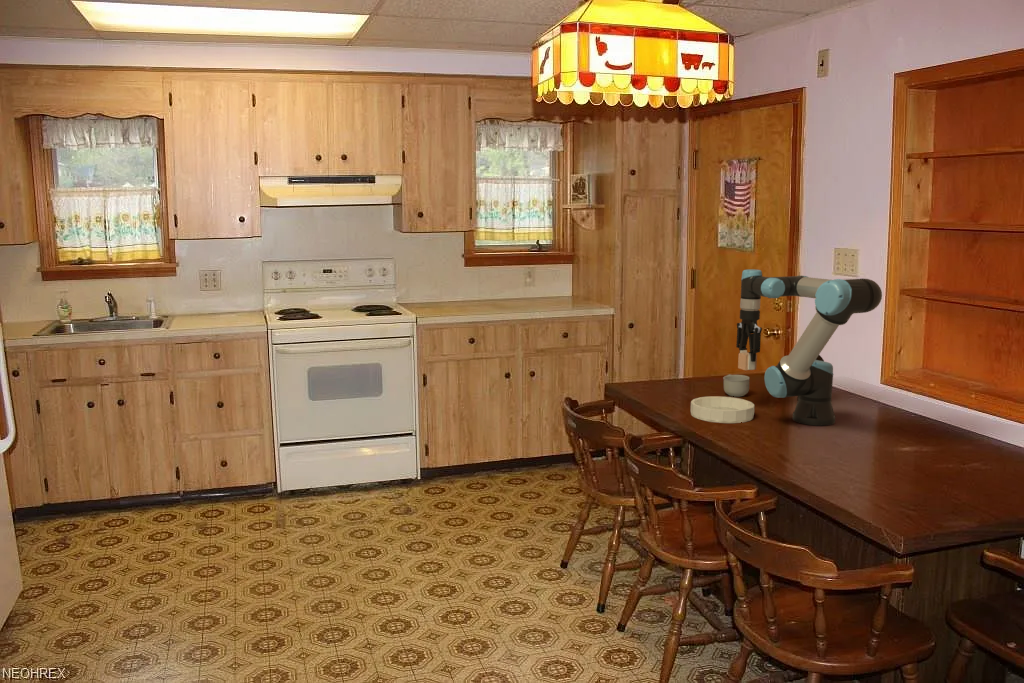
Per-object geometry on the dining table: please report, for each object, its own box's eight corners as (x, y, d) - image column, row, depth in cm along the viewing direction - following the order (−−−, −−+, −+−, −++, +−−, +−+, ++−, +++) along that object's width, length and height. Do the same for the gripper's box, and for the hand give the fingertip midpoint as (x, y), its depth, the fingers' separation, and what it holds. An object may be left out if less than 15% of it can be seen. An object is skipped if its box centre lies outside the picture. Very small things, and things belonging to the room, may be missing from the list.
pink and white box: (756, 369, 342) (756, 354, 340) (745, 370, 340) (745, 355, 339) (748, 367, 346) (749, 352, 345) (737, 367, 345) (738, 353, 344)
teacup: (751, 398, 366) (752, 379, 364) (725, 398, 366) (726, 379, 364) (743, 391, 379) (744, 372, 378) (718, 390, 380) (719, 372, 378)
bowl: (766, 419, 331) (766, 407, 330) (714, 425, 322) (715, 413, 321) (728, 406, 352) (728, 394, 351) (679, 411, 343) (679, 399, 342)
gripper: (772, 312, 332) (768, 371, 336) (744, 306, 349) (741, 363, 353) (755, 312, 329) (752, 373, 333) (728, 306, 346) (725, 364, 350)
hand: (747, 367), depth 343 cm, fingers closed on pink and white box, 5 cm apart
